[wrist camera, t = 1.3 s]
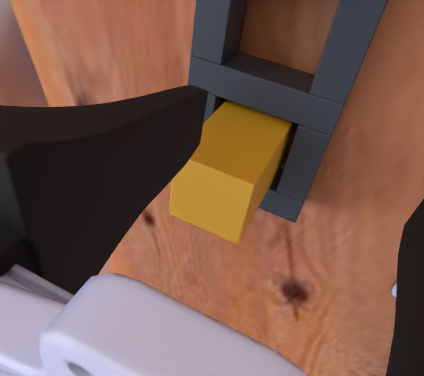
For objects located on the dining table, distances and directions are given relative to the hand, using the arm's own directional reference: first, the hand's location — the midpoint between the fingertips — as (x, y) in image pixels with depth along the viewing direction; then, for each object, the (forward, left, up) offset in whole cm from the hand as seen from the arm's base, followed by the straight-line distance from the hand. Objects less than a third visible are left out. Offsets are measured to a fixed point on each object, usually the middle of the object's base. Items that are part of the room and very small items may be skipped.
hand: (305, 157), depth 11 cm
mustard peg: (-6, +4, -10) cm, 12 cm away
